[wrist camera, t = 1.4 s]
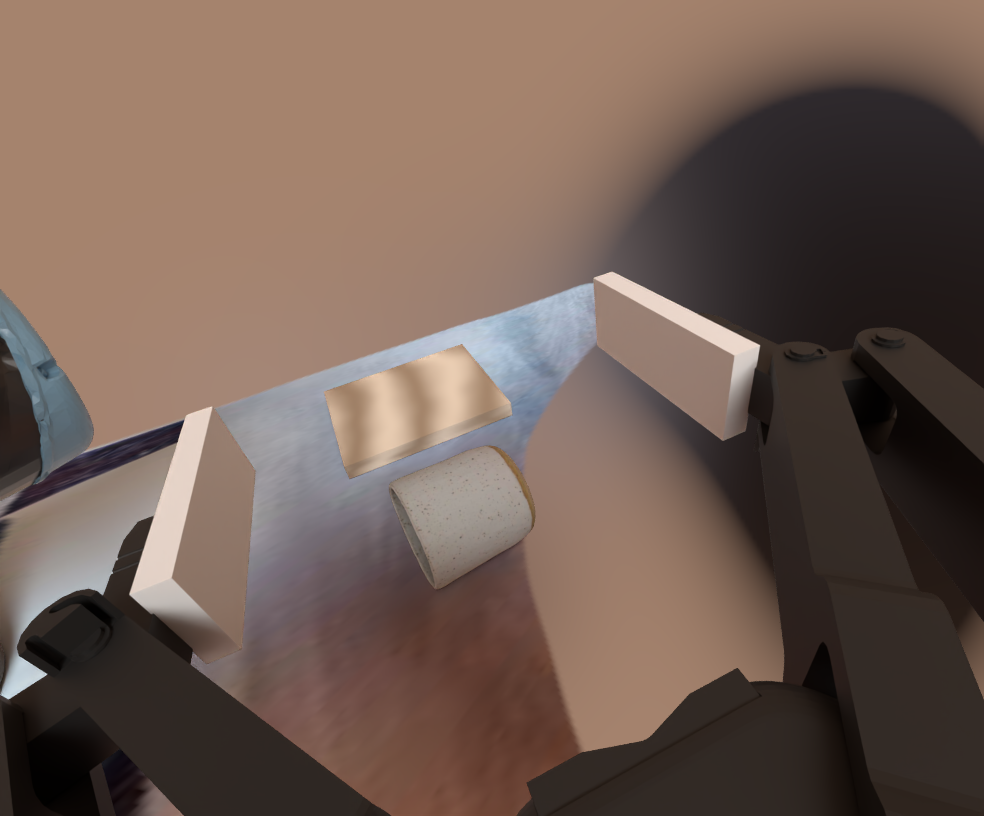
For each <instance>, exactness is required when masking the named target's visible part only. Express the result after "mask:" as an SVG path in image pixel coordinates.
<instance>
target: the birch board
mask: <svg viewBox="0 0 984 816" xmlns="http://www.w3.org/2000/svg"><path fill="white" fill-rule="evenodd" d="M324 393H325V397H326V401H327V405H328V408H329V412H330V416H331V420H332V423H333V427H334V431H335V434H336V438H337V442H338V446H339V449H340V453H341V457H342V461H343V464H344V468H345V470H346V472H347V474H348V476H349V478H350V479H351V478H354V477H356V476H359V475H361V474H364V473H366V472H369V471H371V470H374V469H377V468H379V467H382V466H384V465H387V464H389V463H392V462H394V461H397V460H399V459H402V458H404V457H407V456H410V455H412V454H415V453H417V452H420V451H422V450H425V449H427V448H430V447H432V446H435V445H437V444H440V443H443V442H445V441H448V440H450V439H453V438H455V437H458V436H460V435H463V434H465V433H468V432H470V431H473V430H476V429H478V428H481V427H483V426H486V425H488V424H491V423H493V422H496V421H498V420H501V419H504V418H506V417H509V416H511V415H512V409H511V403H510V401H509V400H508V399H507V398H506V397H505V395H504V394H503V393H502V392H501V391H500V389H499V388H498V387H497V386H496V385H495V383H494V382H493V381H492V380H491V379H490V377H489V376H488V375H487V374H486V373H485V371H484V370H483V369H482V368H481V367H480V365H479V364H478V363H477V362H476V361H475V359H474V358H473V357H472V356H471V354H470V353H469V352H468V351H467V350H466V348H465V347H464V346H463V345H462V344H461V345H458V346H455V347H452V348H450V349H447V350H444V351H441V352H438V353H435V354H432V355H429V356H426V357H423V358H420V359H418V360H415V361H412V362H409V363H406V364H403V365H400V366H397V367H394V368H391V369H389V370H386V371H383V372H380V373H377V374H374V375H371V376H368V377H365V378H362V379H359V380H357V381H354V382H351V383H348V384H345V385H342V386H339V387H336V388H333V389H330V390H327V391H325V392H324Z"/></svg>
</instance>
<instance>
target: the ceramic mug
mask: <svg viewBox="0 0 984 816" xmlns="http://www.w3.org/2000/svg"><path fill="white" fill-rule="evenodd" d="M389 493H390V496H391V500H392V503H393V505H394V508H395V511H396V513H397V515H398V518H399V521H400V523H401V525H402V528H403V530H404V533H405V535H406V537H407V539H408V542H409V544H410V546H411V548H412V551H413V553H414V554H415V556H416V558H417V560H418V563H419V565H420V567H421V569H422V570H423V572H424V574H425V576H426V578H427V579H428V581H429V583H430V584H431V585H432V587H434V588H435V589H436V590H437V589H440V588H443V587H445V586H446V585H448V584H449V583H451V582H452V581H454V580H456V579H457V578H459V577H461V576H462V575H464V574H466V573H467V572H469V571H471V570H472V569H474V568H476V567H477V566H479V565H481V564H483V563H484V562H486V561H488V560H489V559H491V558H492V557H494V556H496V555H497V554H499V553H501V552H503V551H505V550H506V549H508V548H510V547H512V546H513V545H515V544H517V543H518V542H519V541H520V540H521V539H523V538H524V537H525V536H526V535H527V534H528V533H529V532H530V531H531V530H532V528H533V526H534V522H535V507H534V502H533V499H532V496H531V493H530V490H529V487H528V485H527V483H526V481H525V479H524V477H523V475H522V473H521V472H520V470H519V468H518V467H517V466H516V464H515V463H514V461H513V460H512V459H511V458H510V457H509V456H508V455H507V454H506V453H505V452H504V451H502V450H501V449H499V448H497V447H495V446H483V447H479V448H475V449H471V450H468V451H465V452H463V453H460V454H458V455H456V456H454V457H452V458H449V459H447V460H445V461H442V462H440V463H437V464H435V465H432V466H430V467H427V468H425V469H422V470H419V471H417V472H414V473H412V474H409V475H407V476H404V477H402V478H399V479H397V480H395V481H393V482H392V483H390V484H389Z"/></svg>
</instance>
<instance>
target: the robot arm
mask: <svg viewBox="0 0 984 816" xmlns="http://www.w3.org/2000/svg"><path fill="white" fill-rule="evenodd" d="M593 280H594V297H595V313H596V330H597V346H598V347H600V348H601V349H603V350H604V351H605V352H606V353H608V354H609V355H611V356H612V357H613V358H614V359H616V360H617V361H618V362H620V363H621V364H622V365H624V366H625V367H626V368H628V369H629V370H630V371H632V372H633V373H634V374H635V375H637V376H638V377H640V378H641V379H642V380H643V381H645V382H646V383H647V384H649V385H650V386H652V387H653V388H654V389H655V390H657V391H658V392H659V393H661V394H662V395H663V396H665V397H666V398H667V399H669V400H670V401H671V402H672V403H674V404H675V405H677V406H678V407H679V408H680V409H682V410H683V411H684V412H686V413H687V414H688V415H690V416H691V417H692V418H694V419H695V420H696V421H698V422H699V423H701V424H702V425H703V426H704V427H706V428H707V429H708V430H709V431H711V432H712V433H714V434H715V435H716V436H717V437H719V438H720V439H721V440H726V439H728V438H730V437H733V436H735V435H737V434H740V433H742V432H744V431H746V425H747V419H748V414H749V413H750V414H751V415H752V416H754V417H756V418H757V419H759V420H760V421H759V426H758V431H757V437H756V442H755V447H754V452H758V451H759V447H760V455H761V463H762V472H763V480H764V488H765V495H766V504H767V512H768V521H769V529H770V538H771V546H772V554H773V563H774V571H775V579H776V587H777V596H778V604H779V612H780V620H781V629H782V637H783V645H784V673H783V682H775V681H755V682H749V681H748V680H747V679H746V678H745V677H744V675H743V674H742V673H741V672H740V670H739V669H738V668H736V669H734V670H733V671H731V672H729V673H727V674H725V675H723V676H722V677H720V678H718V679H716V680H714V681H712V682H711V683H709V684H707V685H705V686H703V687H702V688H700V689H698V690H696V691H694V692H692V693H690V694H689V695H688V696H687V697H686V699H684V701H683V702H682V703H681V704H680V705H679V706H678V707H677V708H676V709H675V710H674V711H673V713H672V714H671V715H670V716H669V717H668V718H667V719H666V720H665V721H664V722H663V724H662V725H661V726H660V727H659V728H658V729H657V730H656V731H655V732H654V733H653V735H652V736H650V737H649V738H648V739H646V740H644V741H640V742H635V743H629V744H624V745H619V746H614V747H609V748H603V749H598V750H592V751H587V752H582V753H580V754H578V755H576V756H575V757H573V758H571V759H569V760H567V761H565V762H564V763H562V764H560V765H558V766H556V767H554V768H553V769H551V770H549V771H547V772H545V773H543V774H542V775H540V776H538V777H536V778H534V779H532V780H530V781H529V782H527V785H528V788H529V791H530V794H531V797H532V799H531V800H530V801H529V802H528V803H527V804H526V805H525V806H524V807H523V808H522V809H521V810H520V811H519V813H518V814H517V816H984V699H983V697H982V694H981V692H980V689H979V687H978V684H977V682H976V679H975V677H974V674H973V672H972V669H971V667H970V664H969V662H968V660H967V657H966V654H965V652H964V650H963V647H962V645H961V642H960V640H959V637H958V635H957V632H956V630H955V627H954V625H953V622H952V620H951V617H950V615H949V613H948V611H947V609H946V607H945V605H944V603H943V602H942V601H941V600H940V599H939V598H938V597H937V596H936V595H935V594H930V593H924V592H920V590H918V588H917V586H916V584H915V581H914V579H913V576H912V573H911V570H910V568H909V565H908V562H907V559H906V557H905V554H904V551H903V548H902V546H901V543H900V540H899V537H898V535H897V532H896V529H895V527H894V524H893V521H892V518H891V515H890V513H889V510H888V507H887V505H886V502H885V499H884V496H883V494H882V491H881V488H880V485H881V486H882V487H883V489H884V490H885V491H886V493H887V494H888V495H889V497H890V498H891V499H892V501H893V502H894V503H895V505H896V506H897V507H898V509H899V510H900V511H901V513H902V514H903V515H904V516H905V518H906V519H907V520H908V522H909V523H910V524H911V526H912V527H913V528H914V530H915V531H916V532H917V534H918V535H919V536H920V538H921V539H922V540H923V542H924V543H925V544H926V546H927V547H928V548H929V550H930V551H931V552H932V554H933V555H934V556H935V558H936V559H937V560H938V562H939V563H940V564H941V566H942V567H943V568H944V569H945V571H946V572H947V574H948V575H949V576H950V577H951V579H952V580H953V581H954V583H955V584H956V586H957V587H958V588H959V590H960V591H961V592H962V594H963V595H964V596H965V597H966V599H967V600H968V601H969V603H970V604H971V605H972V607H973V608H974V609H975V611H976V612H977V614H978V615H979V616H980V617H981V619H982V620H983V621H984V389H983V388H981V387H980V386H979V385H978V384H976V383H975V382H974V381H973V380H971V379H970V378H969V377H967V376H966V375H965V374H964V373H963V372H961V371H960V370H959V369H957V368H956V367H955V366H954V365H952V364H951V363H950V362H949V361H947V360H946V359H945V358H944V357H942V356H941V355H940V354H939V353H937V352H936V351H935V350H933V349H932V348H931V347H929V346H928V345H927V344H926V343H925V342H923V341H922V340H921V339H920V338H918V337H916V336H915V335H913V334H911V333H909V332H905V331H902V330H900V329H895V328H892V329H891V328H886V327H884V328H873V329H868V330H864V331H862V332H860V333H858V335H857V337H856V340H855V344H854V347H853V349H847V350H841V351H835V352H829V351H828V350H827V349H825V348H823V347H822V346H820V345H816V344H812V343H807V342H788V343H784V344H781V345H777V344H775V343H773V342H771V341H769V340H767V339H765V338H763V337H760V336H758V335H756V334H754V333H752V332H750V331H748V330H746V329H745V330H743V328H742V327H740V326H737V325H735V324H733V325H732V323H731V322H729V321H727V320H725V319H723V318H720V317H719V316H714V315H709V314H705V313H699V314H696V313H694V312H692V311H690V310H688V309H686V308H684V307H682V306H680V305H678V304H676V303H674V302H672V301H670V300H668V299H666V298H664V297H662V296H660V295H658V294H656V293H654V292H652V291H650V290H648V289H646V288H644V287H642V286H640V285H638V284H636V283H634V282H632V281H630V280H627V279H626V278H624V277H622V276H620V275H618V274H616V273H614V272H610V273H607V274H604V275H601V276H598V277H595V278H594V279H593ZM896 410H897V411H896ZM93 435H94V429H93V424H92V421H91V418H90V415H89V413H88V411H87V409H86V407H85V405H84V403H83V402H82V400H81V398H80V396H79V394H78V393H77V391H76V389H75V388H74V386H73V385H72V383H71V382H70V380H69V379H68V377H67V375H66V374H65V373H64V372H63V370H62V369H61V368H60V367H58V366H57V365H56V360H55V359H54V358H53V356H52V355H51V353H50V351H49V349H48V347H47V346H46V344H45V343H44V341H43V340H42V339H41V338H40V336H39V335H38V333H37V332H36V331H35V329H34V328H33V327H32V326H31V324H30V323H29V322H28V320H27V319H26V318H25V316H24V315H23V314H22V313H21V311H20V310H19V309H18V308H17V307H16V306H15V304H14V303H13V302H12V301H11V300H10V299H9V298H8V297H7V296H6V295H5V294H4V293H3V291H2V290H0V501H1V500H3V499H5V498H7V497H9V496H11V495H13V494H15V493H17V492H19V491H20V490H22V489H24V488H26V487H28V486H30V485H35V484H37V483H39V482H41V481H43V480H44V479H45V478H46V477H47V476H48V475H49V474H50V472H52V471H53V470H55V469H57V468H58V467H60V466H62V465H63V464H65V463H67V462H68V461H70V460H72V459H73V458H75V457H77V456H78V455H80V454H81V453H83V452H84V451H85V450H86V449H87V448H88V447H89V445H90V443H91V442H92V439H93ZM255 472H256V471H255V469H254V468H253V466H252V465H251V463H250V462H249V460H248V459H247V457H246V456H245V454H244V453H243V451H242V450H241V448H240V447H239V445H238V444H237V442H236V441H235V439H234V438H233V436H232V435H231V433H230V432H229V430H228V429H227V427H226V426H225V424H224V422H223V421H222V419H221V418H220V416H219V415H218V413H217V412H216V410H215V409H214V407H213V406H211V407H208V408H205V409H202V410H200V411H196V412H193V413H190V414H187V415H186V418H185V421H184V424H183V427H182V430H181V433H180V437H179V440H178V443H177V446H176V449H175V452H174V455H173V459H172V462H171V465H170V468H169V471H168V474H167V477H166V481H165V484H164V487H163V490H162V493H161V496H160V500H159V503H158V506H157V509H156V512H155V515H154V516H152V517H150V518H147V519H144V520H142V521H139V522H137V524H136V525H135V526H134V528H133V529H132V530H131V531H130V533H129V534H128V535H127V536H126V538H125V539H124V541H123V543H122V546H121V549H120V551H119V554H118V560H116V562H115V565H114V568H113V570H112V572H113V574H112V575H111V576H110V578H109V581H108V584H107V587H106V589H105V592H104V595H103V596H102V595H101V594H100V593H99V592H98V591H95V590H91V589H85V590H80V591H75V592H73V593H71V594H69V595H67V596H64V597H62V598H60V599H59V600H57V601H56V602H54V603H53V604H51V605H50V606H48V607H47V608H46V609H44V610H43V611H42V612H41V613H40V614H39V615H38V616H37V617H36V618H35V619H34V620H33V621H31V623H30V624H29V625H28V627H27V628H26V629H25V631H24V632H23V633H22V635H21V637H20V640H19V643H18V645H17V650H18V654H19V656H20V657H22V658H23V659H25V660H26V661H28V662H30V663H31V664H33V665H34V666H36V667H37V668H39V669H40V670H42V671H44V672H45V673H47V674H48V675H46V676H45V677H43V678H42V679H40V680H39V681H37V682H35V683H34V684H32V685H31V686H29V687H28V688H26V689H25V690H23V691H21V692H20V693H18V694H17V695H15V696H14V697H12V698H11V699H9V700H8V699H6V698H5V697H3V696H1V695H0V816H115V812H114V808H113V804H112V801H111V797H110V793H109V790H108V786H107V782H106V778H105V775H104V771H103V767H102V764H101V762H103V761H104V760H105V759H107V758H108V757H109V756H111V755H112V754H113V753H115V752H116V751H117V750H119V749H121V750H122V751H123V752H124V753H125V754H126V755H127V756H128V757H129V758H130V759H131V760H132V761H133V762H134V763H135V765H136V766H137V767H138V768H139V769H140V770H141V771H142V772H143V773H144V774H145V775H146V776H147V777H148V778H149V779H150V780H151V781H152V782H153V784H154V785H155V786H156V787H157V788H158V789H159V790H160V791H161V792H162V793H163V794H164V795H165V796H166V797H167V798H168V799H169V800H170V802H171V803H172V804H173V805H174V806H175V807H176V808H177V809H178V810H179V811H180V812H181V813H182V814H183V815H184V816H391V815H390V814H388V813H387V812H385V811H384V810H382V809H381V808H379V807H377V806H375V805H374V804H372V803H371V802H370V801H368V800H367V799H366V798H364V797H363V796H362V795H360V794H359V793H358V792H356V791H355V790H354V789H352V788H351V787H350V786H349V785H347V784H346V783H345V782H343V781H342V780H341V779H339V778H338V777H337V776H335V775H334V774H333V773H331V772H330V771H329V770H328V769H326V768H325V767H324V766H322V765H321V764H320V763H318V762H317V761H316V760H314V759H313V758H312V757H311V756H309V755H308V754H307V753H305V752H304V751H303V750H301V749H300V748H299V747H297V746H296V745H295V744H294V743H292V742H291V741H290V740H288V739H287V738H286V737H284V736H283V735H282V734H280V733H279V732H278V731H277V730H275V729H274V728H273V727H271V726H270V725H269V724H267V723H266V722H265V721H263V720H262V719H261V718H260V717H258V716H257V715H256V714H254V713H253V712H252V711H250V710H249V709H248V708H246V707H245V706H244V705H243V704H241V703H240V702H239V701H237V700H236V699H235V698H233V697H232V696H231V695H229V694H228V693H227V692H225V691H224V690H223V689H222V688H220V687H219V686H218V685H216V684H215V683H214V682H212V681H211V680H210V679H208V678H207V677H206V676H205V675H203V674H202V673H201V672H199V671H198V670H197V669H195V668H194V667H193V666H191V665H190V664H191V658H192V652H194V653H195V654H196V655H197V656H198V657H199V658H200V659H201V660H203V661H204V662H205V663H206V664H209V663H211V662H213V661H215V660H218V659H220V658H222V657H225V656H227V655H229V654H232V653H234V652H236V651H239V650H241V649H242V639H243V626H244V613H245V600H246V587H247V574H248V562H249V549H250V536H251V523H252V510H253V497H254V484H255ZM879 483H880V485H879ZM4 665H5V657H4V651H3V647H2V645H1V643H0V683H1V680H2V677H3V672H4Z"/></svg>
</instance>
